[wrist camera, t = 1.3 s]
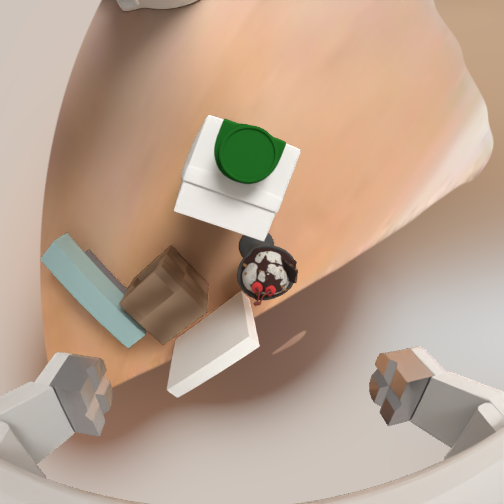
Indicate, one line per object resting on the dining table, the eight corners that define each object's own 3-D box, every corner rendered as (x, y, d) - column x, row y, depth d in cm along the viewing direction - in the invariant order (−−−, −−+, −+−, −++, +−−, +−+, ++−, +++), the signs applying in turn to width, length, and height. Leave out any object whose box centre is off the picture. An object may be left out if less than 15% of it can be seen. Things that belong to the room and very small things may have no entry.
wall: (175, 339, 47) (166, 390, 35) (241, 290, 45) (249, 336, 34) (184, 346, 47) (177, 397, 36) (249, 299, 45) (259, 346, 34)
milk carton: (271, 148, 38) (319, 146, 20) (247, 209, 41) (272, 262, 22) (210, 125, 37) (200, 100, 18) (186, 188, 39) (157, 224, 20)
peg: (53, 249, 37) (40, 259, 33) (66, 232, 36) (54, 240, 33) (134, 333, 43) (128, 348, 39) (150, 320, 42) (145, 335, 38)
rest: (78, 261, 40) (71, 267, 38) (88, 249, 40) (82, 254, 38) (121, 306, 44) (117, 314, 41) (133, 296, 43) (129, 303, 41)
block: (134, 278, 42) (118, 304, 35) (171, 244, 41) (161, 266, 34) (170, 314, 45) (163, 344, 37) (208, 284, 44) (206, 312, 36)
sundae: (225, 258, 43) (229, 311, 29) (245, 215, 41) (258, 251, 27) (266, 274, 44) (288, 331, 30) (287, 234, 43) (319, 276, 29)
